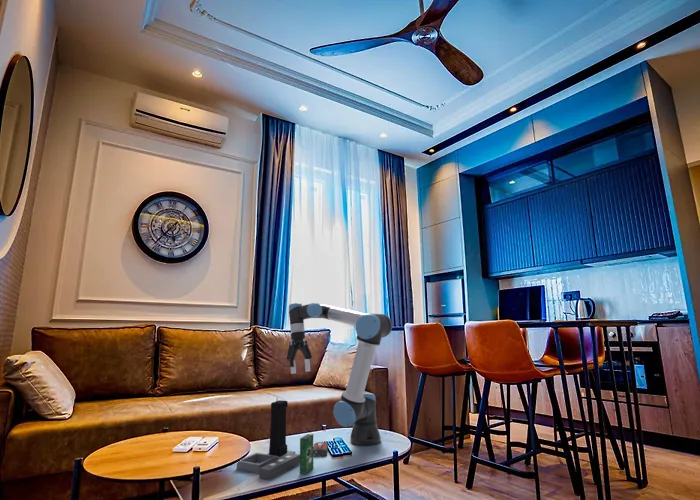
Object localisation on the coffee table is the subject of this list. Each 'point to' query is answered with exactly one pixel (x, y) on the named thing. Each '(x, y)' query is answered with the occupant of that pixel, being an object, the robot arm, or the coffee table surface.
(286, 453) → the rubber mat
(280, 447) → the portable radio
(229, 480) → the coffee table surface
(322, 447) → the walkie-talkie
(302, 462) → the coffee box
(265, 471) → the charging dock
